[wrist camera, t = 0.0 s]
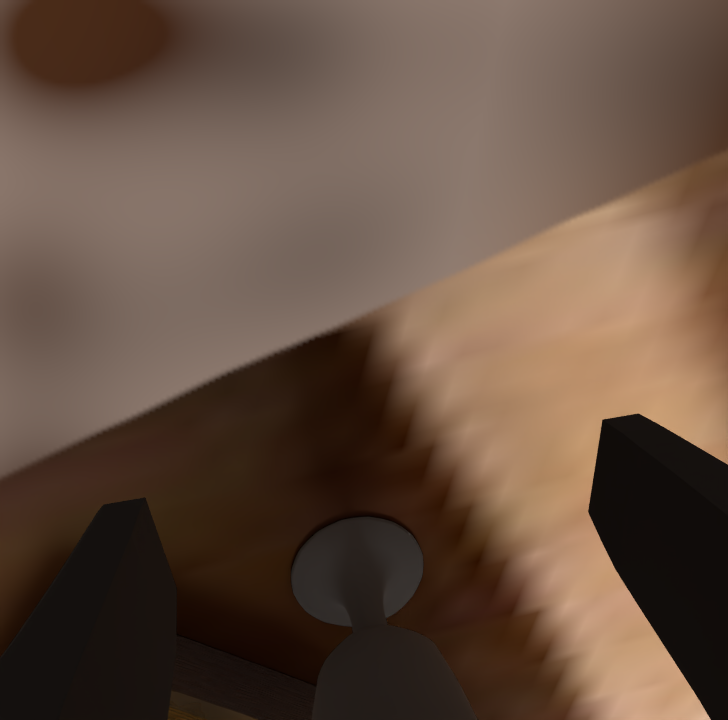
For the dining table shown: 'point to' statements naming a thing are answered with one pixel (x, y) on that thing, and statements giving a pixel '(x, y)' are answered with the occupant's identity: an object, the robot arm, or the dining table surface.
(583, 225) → the dining table surface
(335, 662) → the sundae
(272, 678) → the grey square frame
